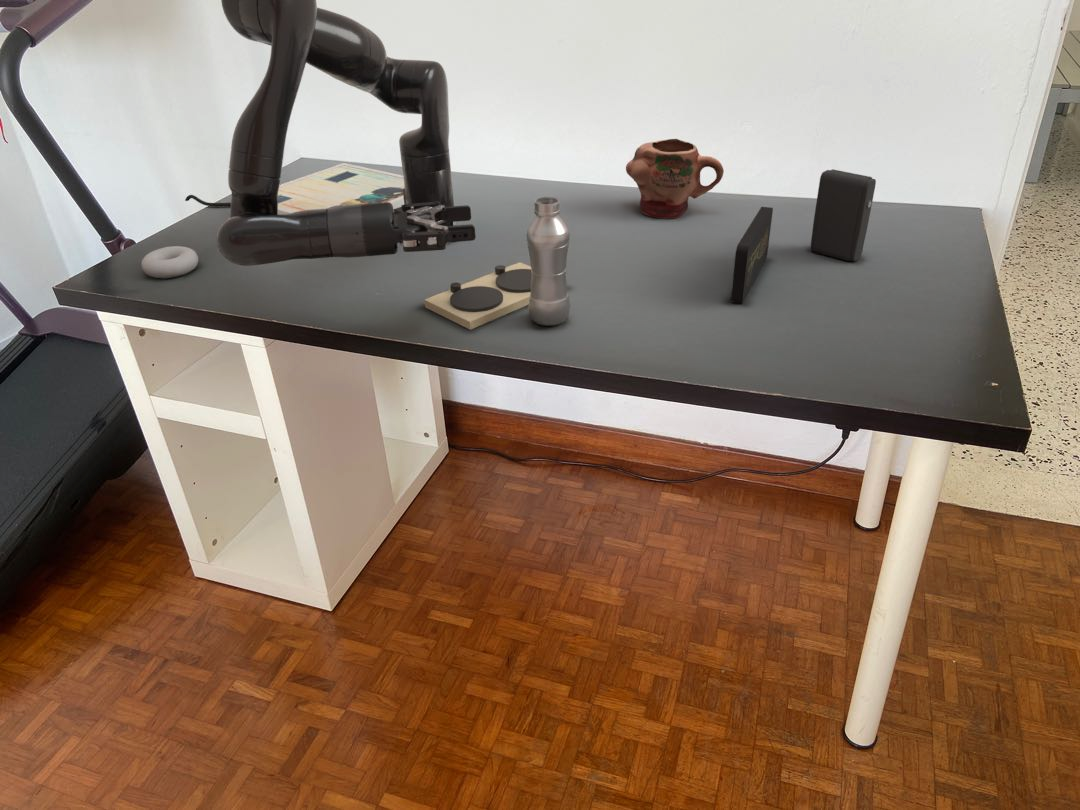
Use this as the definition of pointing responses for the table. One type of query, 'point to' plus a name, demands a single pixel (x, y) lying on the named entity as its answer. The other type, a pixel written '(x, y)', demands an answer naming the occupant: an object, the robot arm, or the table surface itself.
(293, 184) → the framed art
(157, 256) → the donut
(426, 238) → the robot arm
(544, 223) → the silver bottle
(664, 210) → the animal head mug
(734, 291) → the nameplate
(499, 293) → the hob
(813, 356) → the table surface
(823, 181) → the dark grey upright block
